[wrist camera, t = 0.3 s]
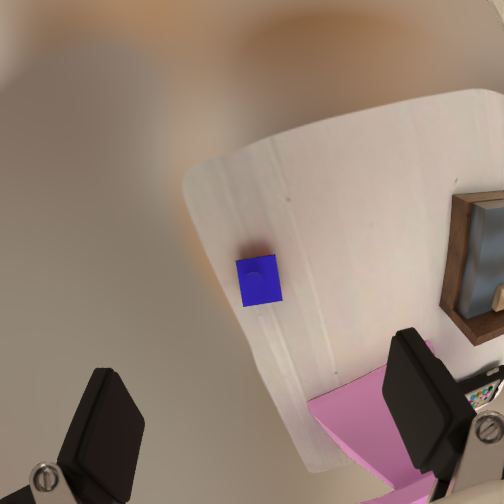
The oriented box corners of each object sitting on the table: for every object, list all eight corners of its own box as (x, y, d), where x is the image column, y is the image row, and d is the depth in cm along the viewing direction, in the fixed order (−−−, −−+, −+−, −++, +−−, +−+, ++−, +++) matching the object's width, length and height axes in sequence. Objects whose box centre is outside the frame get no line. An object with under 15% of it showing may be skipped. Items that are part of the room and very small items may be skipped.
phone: (445, 383, 42) (456, 400, 38) (503, 355, 42) (514, 369, 38) (432, 416, 47) (440, 432, 43) (487, 390, 46) (497, 403, 42)
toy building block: (273, 256, 33) (276, 252, 25) (279, 296, 33) (284, 304, 25) (239, 262, 33) (232, 259, 25) (246, 301, 33) (241, 311, 25)
